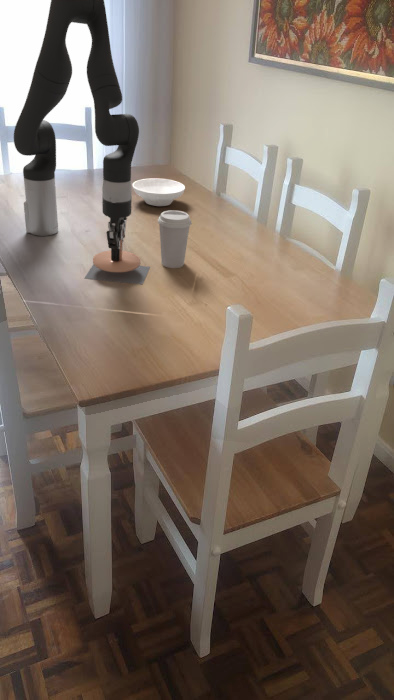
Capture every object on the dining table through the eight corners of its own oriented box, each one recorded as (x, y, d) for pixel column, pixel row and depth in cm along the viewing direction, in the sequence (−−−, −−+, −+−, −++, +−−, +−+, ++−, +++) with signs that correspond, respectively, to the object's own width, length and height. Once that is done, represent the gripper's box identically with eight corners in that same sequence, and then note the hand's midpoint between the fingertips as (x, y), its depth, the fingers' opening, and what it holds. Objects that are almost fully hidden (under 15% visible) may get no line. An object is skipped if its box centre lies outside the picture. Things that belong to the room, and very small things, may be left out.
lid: (87, 269, 153) (86, 245, 149) (99, 250, 164) (99, 228, 160) (135, 274, 152) (135, 251, 149) (144, 255, 163) (145, 233, 160)
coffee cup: (193, 261, 170) (196, 212, 162) (182, 273, 162) (185, 223, 155) (163, 255, 173) (165, 207, 165) (151, 267, 165) (152, 217, 157)
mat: (84, 279, 155) (84, 278, 155) (95, 262, 165) (95, 261, 165) (142, 285, 154) (142, 284, 154) (150, 267, 164) (150, 266, 164)
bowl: (194, 203, 218) (195, 185, 214) (164, 216, 204) (165, 197, 200) (152, 192, 226) (153, 175, 223) (121, 204, 212) (121, 185, 208)
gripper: (109, 187, 154) (109, 247, 164) (95, 203, 142) (97, 266, 152) (136, 190, 154) (135, 250, 163) (125, 206, 142) (124, 270, 151)
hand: (116, 257), depth 157 cm, fingers closed on lid, 2 cm apart
